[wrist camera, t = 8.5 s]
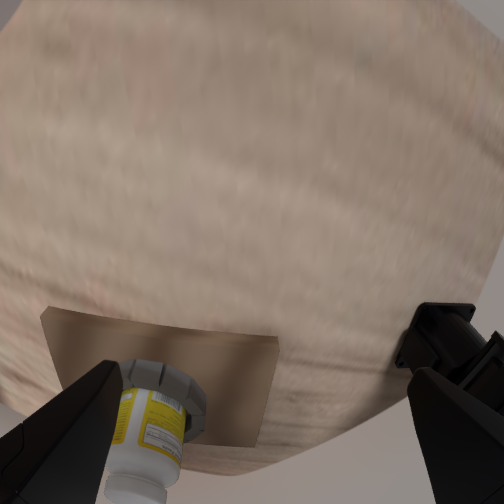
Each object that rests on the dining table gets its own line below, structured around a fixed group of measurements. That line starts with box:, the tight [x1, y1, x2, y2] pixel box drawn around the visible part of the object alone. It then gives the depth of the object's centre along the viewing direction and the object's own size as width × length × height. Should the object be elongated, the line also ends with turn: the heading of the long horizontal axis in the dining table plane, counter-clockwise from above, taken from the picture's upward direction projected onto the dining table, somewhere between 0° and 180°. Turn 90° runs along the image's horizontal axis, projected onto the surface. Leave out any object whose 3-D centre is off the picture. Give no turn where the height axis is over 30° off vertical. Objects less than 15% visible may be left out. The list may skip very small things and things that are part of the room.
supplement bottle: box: [104, 387, 187, 504], centre depth 18 cm, size 5×5×10 cm
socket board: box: [40, 306, 280, 447], centre depth 22 cm, size 18×13×4 cm
